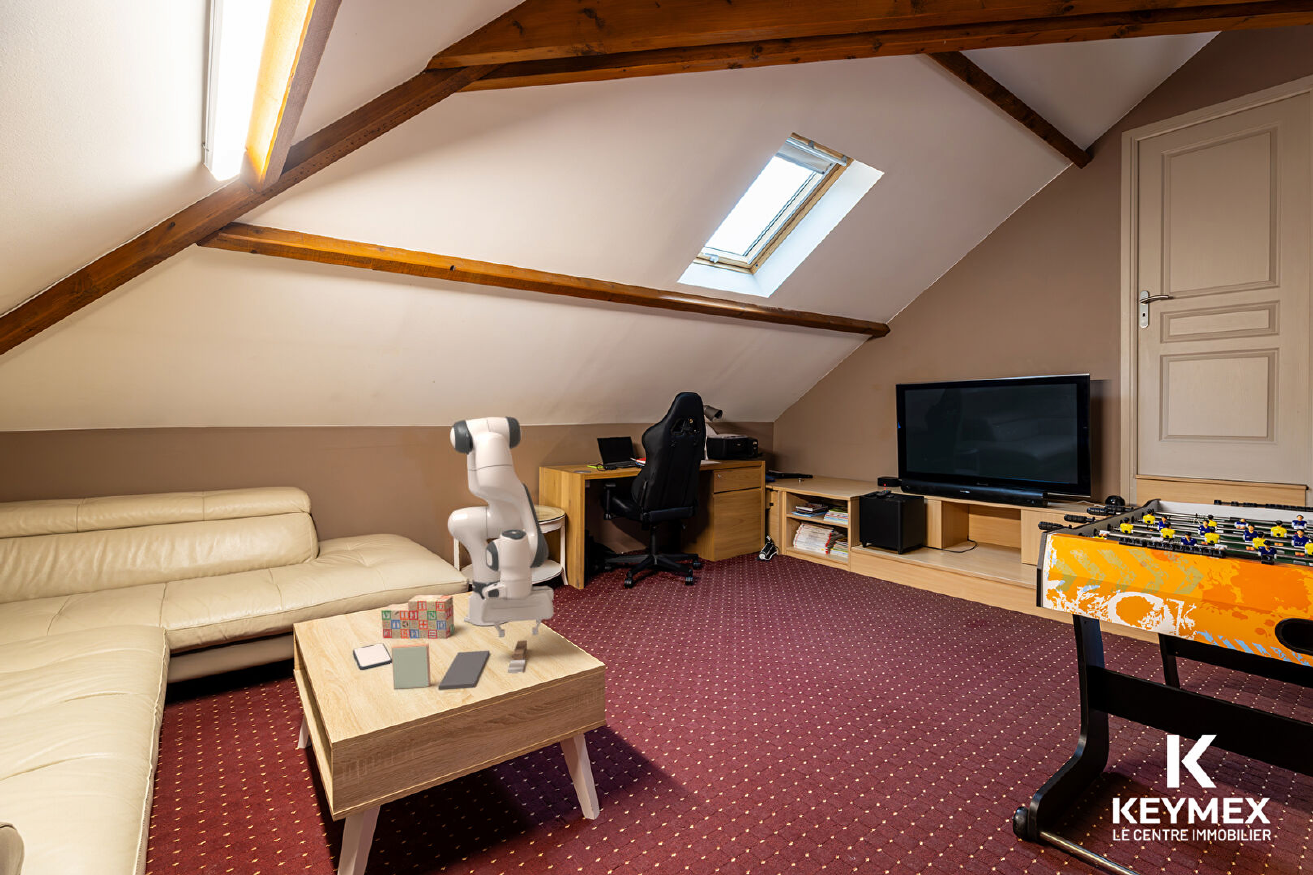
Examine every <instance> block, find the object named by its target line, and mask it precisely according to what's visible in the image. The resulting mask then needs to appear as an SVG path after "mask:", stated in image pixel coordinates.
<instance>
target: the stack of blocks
mask: <svg viewBox="0 0 1313 875" xmlns="http://www.w3.org/2000/svg"><path fill="white" fill-rule="evenodd" d="M380 611H381V622H382V627H381V628H382V638H383V639H431V640H432V639H435V640H436V639H439V640H445V639H446V640H447V639H448V638H449V637H451V635H453V633H454V632H455V622H454V621H455V618H454V613H455V612H454V596H453V595H444V594H428V595H427V594H426V595H422V594H419V595H414V596H413V597H412V598H411V599H409V600H408V601H407V604H406V603H405V604H404V603H403V604H401V603H400V604H399V603H398V604H393V603H392V604H389V605H387V606H386V607H385V608H383V609H381V610H380Z"/></svg>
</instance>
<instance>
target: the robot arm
mask: <svg viewBox="0 0 1313 875" xmlns="http://www.w3.org/2000/svg"><path fill="white" fill-rule="evenodd" d="M449 435H450V437H449V439H450V440H449V441H450V443H451V445H452V446H453V449H454V450H455V451H456V452H457V453H459V454H466V456H467V458H466V464H467V465H466V466H467V467H466V469H467V485H468V490H469V492H470V494H472V495H473V496H475V497H476V498H480V499H482V500H484V501H486V502H487V504H488V505H487V506H485V505H483V506H472V507H470V506H469V507H465V508H459V509H455V510H453V511H452V513H451V514H450V515H449V517H448V520H447V529H448V532H449V535H451V537H452V538H454V539H455V540H457V542H460V543H461V544H462V545H463V547H465V548H466V550H467V552H468V554H469V555H470V559H471V564H472V572H473V573H472V576H473V577H472V578H473V579H472V584H471V585H472V586H471V587H472V593H471V594H470V595H469V596H468V614H467V615H466V616H464V617H463V621H464V622H466V623H471V624H472V625H475V626H494V628H495V629H496V631H497V632H498V638H505V636H506V629H503V628H502V627H501V626H500V625H501V624H504V623H509V622H523V621H535V623H536V625H535V626H534V627H532V628H531V632H532V636H538V635H539V627H540V626H541V623H542V620H550V619H552V618H553V617H554V604H553V600H554V594H555V593H554V589H553V588H551V586H550V587H549V586H548V585H543V586H537V585H536V586H535V585H533V578H532V577H533V575H532V572H531V569H533V568H534V569H535V568H540V567H541V566H542V565H543V564H544V563H545V562H546V561H547V559H548V557H549V554H550V553H549V546H548V543H547V541H546V539H545V535H544V534H543V531H542V528H541V525H540V522H539V518H538V515H537V512H536V508H535V505H534V502H533V499H532V495H531V493H530V491H529V487H528V486H527V485H526V483H524V482H521V481H520V479H519V478H518V476H517V474H516V472H515V467H514V461H513V456H512V455H513V454H512V449H515V448H517V447H518V446H519V445H520V443H521V440H522V437H523V436H522V435H523V430H522V427H521V425H520V422H519V420H518V419H517V418H516V417H512V416H504V417H502V416H489V417H488V416H486V417H482V418H481V417H480V418H473V419H469V420H468V419H467V420H465V419H464V420H463V419H462V420H458V421H455V422H454V423H453V425H452V426H451V430H450V434H449ZM488 539H494V540H491V541H490V542H489V543H488V541H487V540H488Z"/></svg>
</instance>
